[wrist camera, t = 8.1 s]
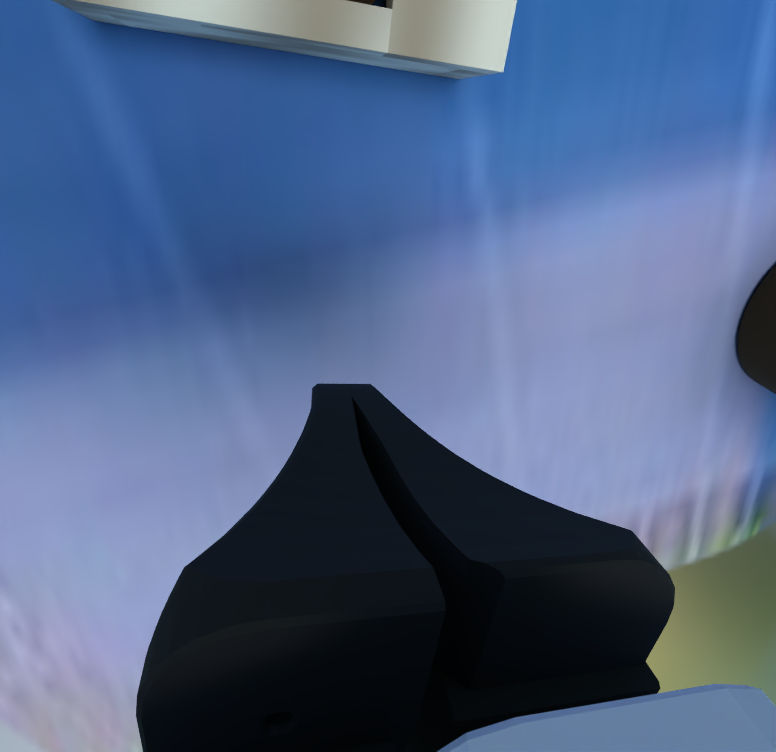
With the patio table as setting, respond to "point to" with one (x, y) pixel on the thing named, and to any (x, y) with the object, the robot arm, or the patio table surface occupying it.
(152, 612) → the patio table surface
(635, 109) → the patio table surface
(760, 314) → the olive oil
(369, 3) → the box with round disc
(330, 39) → the grey square block
